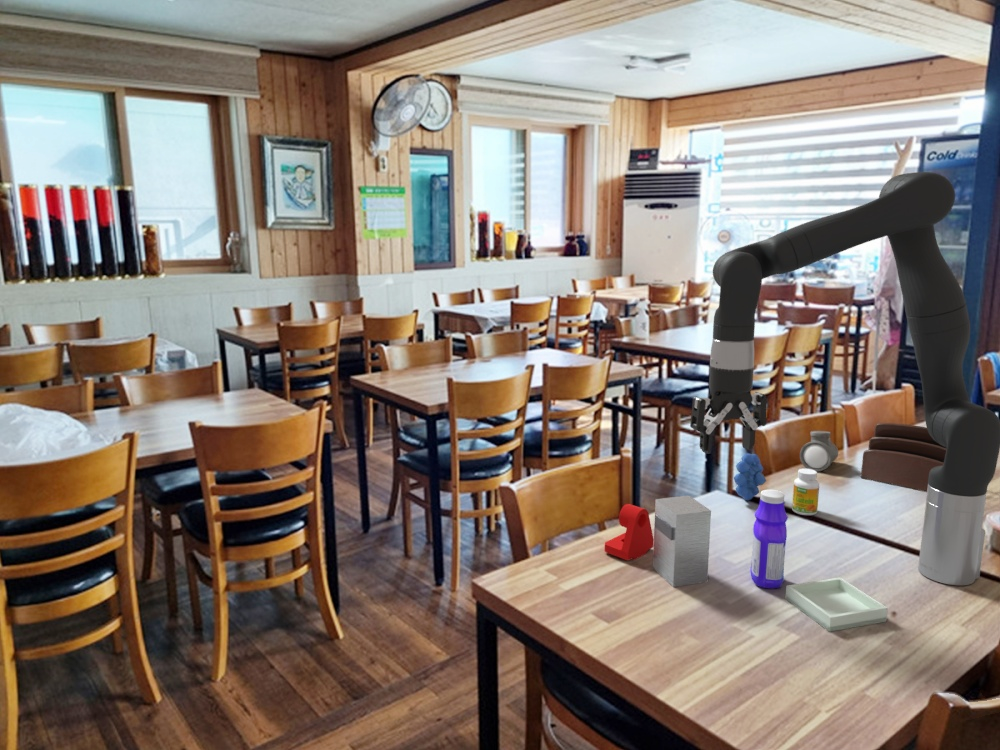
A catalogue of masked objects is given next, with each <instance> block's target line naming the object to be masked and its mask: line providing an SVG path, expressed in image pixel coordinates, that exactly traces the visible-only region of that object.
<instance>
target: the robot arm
mask: <svg viewBox="0 0 1000 750" xmlns="http://www.w3.org/2000/svg"><path fill="white" fill-rule="evenodd" d="M955 199H956V191H955V188H954V186H953V184H952V182H951V181H950V180H949V179H948V178H946V177H945V176H944V175H941V174H939V173H937V172H932V171H931V172H930V171H920V172H917V171H916V172H907V173H901V174H898V175H895V176H892V177H891V178H889V180H887V181H886V182H885V184H884V185H882V188H881V190H880V192H879V196H878V198H876V199H874V200H872V201H868V203H864V204H862V205H858V206H856V207H852V208H850V209H847V210H844V211H840V212H838V213H837V212H836V213H834V214H833V213H832V214H829V215H827V216H822V217H820V218H819V217H818V218H816V219H813V220H809V221H807V222H805V223H801V224H799V225H797V226H794V227H791V228H789V229H786V230H784V231H782V232H779V233H777V234H775V235H773V236H771V237H768V238H766V239H763V240H760V241H757V242H753V243H750V244H747V245H746V244H745V245H743V246H740V247H738V248H734V249H732V250H729V251H727V252H724V253H723V254H721V255H720V256H719V257H718V258H717V259H716V261H715V263H714V264H713V268H712V277H713V279H714V281H715V283H716V284H717V285H718V286H719V288H720V289H719V290H720V291H719V301H718V307H717V309H715V312H714V316H713V326H712V327H713V330H712V343H711V346H710V347H711V348H710V358H709V379H708V388H709V394H708V396H707V397H700V396H696V395H695V396H694V397H693V398H692V405H691V414H690V415H691V416H690V428H691V429H693V430H695V431H697V432H699V449H700V450H701V451H702V452H703V453H705V454H712V447H713V445H712V444H713V434H712V432H713V431H714V430H715V428H716V427H717V426H719V425H720V424H721V422H722V421H729V420H732V419H733V420H740V421H741V422H742V424H743V426H745V427H743V429H742V430H743V431H742V442H741V445H742V448H743V449H745V450H747V451H748V450H749V451H751V450H753V447H754V446H755V444H756V431H757V429H758V428H760V427H765V426H766V425H767V403H768V400H767V398H768V397H767V395H766V394H764V393H761V392H759V391H755V392H753V393H752V392H751V391H752V390H753V388H754V387H753V385H754V382H753V381H754V370H755V369H754V366H755V327H756V319H755V318H756V311H757V308H758V303H759V299H760V294H761V289H762V281H763V280H764V279H766V278H769V277H771V276H775V275H784V274H787V273H791V272H795V271H797V270H800V269H802V268H805V267H807V266H809V265H812V264H814V263H815V264H816V263H818V262H820V261H822V260H824V259H827V258H830V257H832V256H834V255H836V254H838V253H841V252H844V251H846V250H847V251H848V250H849V249H853V248H855V247H857V246H860V245H863V244H865V243H868V242H871V241H874V240H878V239H881V238H885V237H887V239H888V242H889V244H890V248H891V250H892V253H893V257H894V261H895V265H896V270H897V276H898V282H899V287H900V290H901V295H902V300H903V304H904V311H905V316H906V321H907V325H908V328H909V329H908V330H909V334H910V338H911V341H912V346H913V350H914V355H915V358H916V359H915V360H916V363H917V367H918V372H919V376H920V381H921V382H920V383H921V387H922V388H921V389H922V399H923V410H924V419H925V420H924V421H925V425H926V428H927V430H928V432H929V434H930V436H931V437H932V438H933V439H934V440H935V441H936V442H937V443H939V444H940V445H942V446H944V447H946V448H947V449H946V454H945V460H944V464H943V466H937V467H934V468H932V469H931V470H930V473H929V479H928V488H927V492H926V497H925V507H924V515H923V525H922V531H921V532H922V533H921V540H920V548H919V549H920V550H919V557H918V566H917V568H918V569H917V570H918V571H919V573H920V574H921V575H922V576H924V577H926V578H928V579H930V580H932V581H934V582H937V583H938V582H939V583H942V584H946V585H951V586H969V585H972V584H974V583H975V581H976V580H977V579H980V575H981V567H982V560H983V559H982V558H983V554H984V544H985V540H986V539H985V537H986V531H985V529H984V528H983V523H984V517H985V516H984V515H985V514H984V513H985V508H986V507H985V506H986V500H987V492H988V487H989V484H990V483H991V481H992V480H993V478H994V476H995V473H996V470H997V464H998V459H999V454H1000V418H999V417H998V415H997V414H996V413H995V412H994V411H992V410H990V409H989V408H986V407H984V406H982V405H980V404H979V405H978V404H976V403H973V402H972V401H971V400H970V397H969V395H968V390H967V388H966V384H965V379H964V374H963V373H964V372H963V366H964V365H963V364H964V359H965V356H966V354H967V349H968V346H969V342H970V338H971V323H970V318H969V312H968V307H967V303H966V298H965V294H964V292H963V290H962V287H961V285H960V283H959V281H958V279H957V278H956V276H955V275H954V273H953V271H952V269H951V268H950V266H949V265H948V262H947V261H946V259H945V258H944V256H943V254H942V252H941V250H940V247H939V246H938V245H939V244H938V241H937V236H936V231H935V226H934V225H936V224H938V223H939V222H941V221H942V220H944V219H945V218H946V217H947V216H948V215H949V214H950V212H951V211H952V208H953V207H954V205H955ZM751 404H752V413H751V412H750V410H749V407H750V405H751ZM708 406H709V409H708ZM706 410H708V411H707V412H706V413H705V411H706Z"/></svg>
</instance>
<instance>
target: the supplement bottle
mask: <svg viewBox="0 0 1000 750" xmlns="http://www.w3.org/2000/svg"><path fill="white" fill-rule="evenodd" d="M817 478H818V472H816V471H815V470H812V469H807V468H799V469H798V471H797V478H795V479H794V481H793V491H792V493H793V494H792V501H791V502H792V503H791V509H792V511H793V512H794V513H796V514H797V515H802V516H813V515H816V514H817V513H818V505H819V495H820V482H819V481H818V480H817Z"/></svg>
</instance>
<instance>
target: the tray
mask: <svg viewBox="0 0 1000 750" xmlns="http://www.w3.org/2000/svg"><path fill="white" fill-rule="evenodd" d="M785 587H786V589H785V600H786V601H788V602H789V603H790V604H791V605H793V606H794V607H795V608H797V609H799V610H800V611H801V612H802V613H803V614H805V615H806V616H808V617H809V618H810V619H812V620H813V621H814V622H815V623H817V624H818V625H819V626H821V627H822V628H823V629H825V630H826V631H827V632H829V633H830V632H836V631H842V630H846V629H852V628H858V627H863V626H869V625H874V624H881V623H885V622H887V618H888V616H887V615H888V607H887V606H885V605H884V604H883V603H881V602H879V601H878V600H877V599H875V598H873V597H871V596H870V595H869V594H867V593H865V592H864V591H863V590H860V588H857V587H856V586H854V585H853V584H851V583H849V582H848V581H847V580H845V579H843V578H842V577H832V578H828V579H821V580H814V581H808V582H807V581H806V582H802V583H794V584H789V585H786V586H785Z"/></svg>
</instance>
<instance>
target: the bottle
mask: <svg viewBox="0 0 1000 750" xmlns="http://www.w3.org/2000/svg"><path fill="white" fill-rule="evenodd" d="M758 504H759V505H758V507H757V508H756V510H755V512H754V517H755V521H754V524H753V528H752V531H753V536H752V551H751V561H750V562H751V563H750V576H751V580H752V582H753V583H754V584H755V585H756V587H757V586H758V587H759V588H764V589H779V588H781V587H782V585H783V582H784V578H785V577H784V572H785V571H784V570H785V556H786V546H787V545H786V543H787V538H788V532H787V531H788V530H787V520H788V518H789V517H788V514H787V513H786V510H785V493H784V492H782V491H780V490H777V489H771V488H770V489H764V490H761V492H760V499H759V503H758Z"/></svg>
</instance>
